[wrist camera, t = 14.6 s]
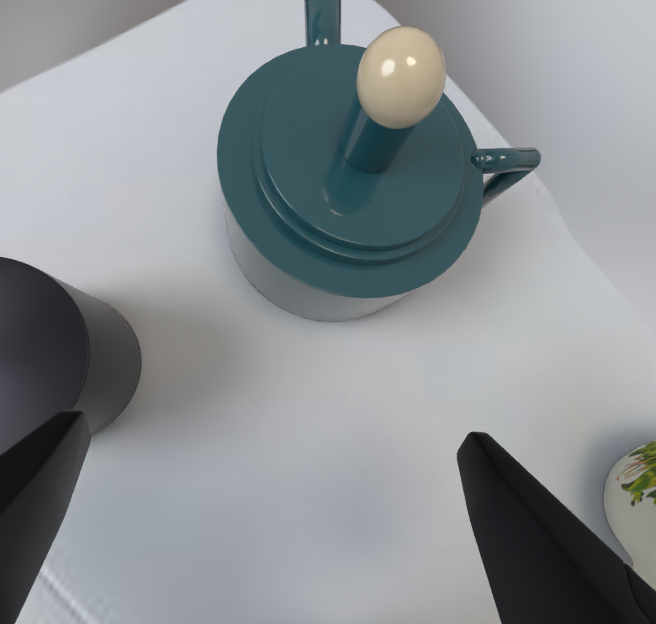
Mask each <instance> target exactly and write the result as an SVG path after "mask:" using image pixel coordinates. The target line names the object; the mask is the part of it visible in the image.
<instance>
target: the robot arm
mask: <svg viewBox="0 0 656 624" xmlns="http://www.w3.org/2000/svg"><path fill="white" fill-rule="evenodd" d="M90 440H91V433H90V429H89V425H88V421H87V417H86V413H85V412H84V411H83V410H74V409H63V410H61V411H59V412H57V413H56V414H55V415H53V416H52V417H51V418H49V419H48V420H47V421H45V422H44V423H43V424H41V425H40V426H39V427H37V428H36V429H35V430H33V431H32V432H31V433H29V434H28V435H27V436H25V437H24V438H23V439H21V440H20V441H19V442H17V443H16V444H15V445H13V446H12V447H11V448H9V449H8V450H7V451H5V452H4V453H3V454H1V455H0V624H15V622H16V620H17V618H18V616H19V614H20V611H21V609H22V607H23V605H24V603H25V601H26V599H27V596H28V594H29V592H30V590H31V588H32V586H33V584H34V582H35V579H36V577H37V575H38V573H39V571H40V569H41V567H42V564H43V562H44V560H45V558H46V556H47V554H48V552H49V549H50V547H51V545H52V543H53V541H54V539H55V537H56V535H57V532H58V530H59V528H60V526H61V524H62V521H63V519H64V517H65V514H66V511H67V509H68V506H69V503H70V500H71V497H72V494H73V491H74V488H75V486H76V483H77V480H78V477H79V474H80V471H81V468H82V465H83V462H84V459H85V456H86V453H87V451H88V448H89V445H90ZM457 462H458V467H459V471H460V476H461V481H462V486H463V491H464V496H465V500H466V505H467V510H468V514H469V518H470V522H471V526H472V529H473V532H474V536H475V539H476V542H477V545H478V549H479V552H480V555H481V558H482V561H483V565H484V568H485V571H486V574H487V578H488V581H489V584H490V587H491V591H492V594H493V597H494V600H495V603H496V607H497V610H498V613H499V616H500V620H501V623H502V624H656V591H655V590H654V589H653V588H652V587H651V586H650V585H649V584H647V583H646V582H645V581H644V580H643V579H642V578H641V577H640V576H639V575H638V574H637V573H636V572H635V571H634V570H632V569H631V568H630V567H629V566H628V565H627V564H625V563H623V560H622V559H621V558H620V557H618V556H617V555H616V554H615V553H614V552H613V551H612V550H611V549H610V548H609V547H608V546H607V545H606V544H605V543H604V542H603V541H601V540H600V539H599V538H598V537H597V536H596V535H595V534H594V533H593V532H592V531H591V530H590V529H589V528H588V527H587V526H586V525H584V524H583V523H582V522H581V521H580V520H579V519H578V518H577V517H576V516H575V515H574V514H573V513H572V512H571V511H570V510H568V509H567V508H566V507H565V506H564V505H563V504H562V503H561V502H560V501H559V500H558V499H557V498H556V497H555V496H554V495H553V494H551V493H550V492H549V491H548V490H547V489H546V488H545V487H544V486H543V485H542V484H541V483H540V482H539V481H538V480H537V479H536V478H534V477H533V476H532V475H531V474H530V473H529V472H528V471H527V470H526V469H525V468H524V467H523V466H522V465H521V464H520V463H519V462H517V461H516V460H515V459H514V458H513V457H512V456H511V455H510V454H509V453H508V452H507V451H506V450H505V449H504V448H503V447H501V446H500V445H499V444H498V443H497V442H496V441H495V440H494V439H493V438H492V437H491V436H490V435H488V434H487V433H484V432H470V433H469V434H468V435H467V437H466V438H465V440H464V441H463V443H462V445H461V446H460V448H459V449H458V452H457Z"/></svg>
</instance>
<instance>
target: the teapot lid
mask: <svg viewBox="0 0 656 624" xmlns="http://www.w3.org/2000/svg"><path fill="white" fill-rule="evenodd" d="M445 80H446V66H445V59H444V56H443V53H442V50H441V48H440V46H439V45H438V43H437V42H436V40H435V39H434V38H433V37H432V36H431V35H430V34H429V33H427V32H426V31H424V30H422V29H420V28H417V27H413V26H398V27H394V28H391V29H388V30H386V31H384V32H383V33H381V34H380V35H379V36H377V37H376V38H375V39H374V40H373V41H372V42H371V43H370V45H369V46H368V47H367V49H366V50H365V52H364V54H363V55H357V54H338V55H331V56H326V57H322V58H318V59H315V60H313V61H310V62H308V63H306V64H304V65H302V66H301V67H299V68H297V69H296V70H294V71H293V72H292V73H291V74H289V75H288V76H287V77H286V78H285V79H284V80H283V81H282V82H281V83H280V84H279V86H278V87H277V88H276V90H275V91H274V93H273V94H272V96H271V98H270V100H269V102H268V104H267V107H266V109H265V113H264V116H263V120H262V128H261V155H262V160H263V166H264V169H265V172H266V175H267V178H268V181H269V183H270V185H271V187H272V189H273V191H274V193H275V194H276V196H277V197H278V199H279V200H280V202H281V203H282V205H283V206H284V207H285V208H286V209H287V210H288V212H289V213H290V214H291V215H292V216H293V217H294V218H295V219H296V220H297V221H299V222H300V223H301V224H302V225H303V226H305V227H306V228H307V229H309V230H310V231H312V232H313V233H315V234H316V235H318V236H320V237H322V238H324V239H325V240H328V241H330V242H333V243H335V244H338V245H341V246H345V247H349V248H352V249H359V250H387V249H393V248H397V247H401V246H404V245H407V244H409V243H411V242H414V241H416V240H418V239H419V238H421V237H422V236H424V235H426V234H427V233H428V232H429V231H431V230H432V229H433V228H434V227H435V226H436V225H438V224H439V223H440V222H441V221H442V220H443V218H444V217H445V216H446V215H447V214H448V212H449V211H450V209H451V207H452V206H453V204H454V202H455V200H456V198H457V196H458V193H459V190H460V186H461V182H462V176H463V152H462V145H461V141H460V138H459V134H458V131H457V129H456V126H455V124H454V122H453V120H452V118H451V116H450V114H449V112H448V111H447V109H446V108H445V106H444V105H443V103H442V102H441V101H440V98H441V96H442V93H443V90H444V86H445Z"/></svg>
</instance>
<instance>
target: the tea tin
mask: <svg viewBox="0 0 656 624" xmlns="http://www.w3.org/2000/svg"><path fill="white" fill-rule="evenodd" d="M140 372H141V352H140V347H139V343H138V340H137V337H136V335H135V333H134V331H133V329H132V328H131V326H130V325H129V323H128V322H127V321H126V320H125V319H124V318H123V316H122V315H120V314H119V313H118V312H117V311H116V310H115V309H113V308H111V307H110V306H108V305H107V304H105V303H103V302H101V301H99V300H97V299H95V298H93V297H91V296H89V295H87V294H85V293H83V292H82V291H80V290H78V289H76V288H74V287H72V286H70V285H68V284H66V283H64V282H62V281H60V280H58V279H56V278H54V277H52V276H50V275H48V274H47V273H45V272H43V271H41V270H39V269H37V268H34V267H32V266H30V265H28V264H25V263H22V262H19V261H16V260H13V259H9V258H4V257H0V455H1V454H3V453H4V452H5V451H7V450H8V449H9V448H11V447H12V446H13V445H15V444H16V443H17V442H19V441H20V440H21V439H23V438H24V437H25V436H27V435H28V434H29V433H31V432H32V431H33V430H35V429H36V428H37V427H39V426H40V425H41V424H43V423H44V422H45V421H47V420H48V419H49V418H51V417H52V416H53V415H55V414H56V413H57V412H59V411H61V410H63V409H74V410H83V411H84V412H85V413H86V417H87V421H88V425H89V429H90V433H91V435H92V434H95V433H97V432H98V431H100V430H101V429H103V428H104V427H106V426H107V425H108V424H110V423H111V422H112V421H113V420H114V419H115V418H116V417H117V416H118V415H119V414H120V413H121V412H122V411H123V410H124V408H125V407H126V406H127V404H128V403H129V401H130V399H131V398H132V396H133V394H134V392H135V390H136V387H137V385H138V381H139V377H140Z"/></svg>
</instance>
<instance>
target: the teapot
mask: <svg viewBox="0 0 656 624" xmlns="http://www.w3.org/2000/svg"><path fill="white" fill-rule="evenodd" d="M304 8H305V40H306V47H303V48H299V49H296V50H292V51H289V52H287V53H284V54H282V55H280V56H278V57H275V58H274V59H272V60H270V61H269V62H267V63H266V64H264V65H262V66H261V67H260V68H259V69H257V70H256V71H255V72H254V73H253V74H251V75H250V76H249V77H248V78H247V79H246V81H245V82H244V83H243V84H242V85H241V86H240V87H239V89H238V90H237V92H236V93H235V95H234V96H233V98H232V100H231V101H230V103H229V105H228V107H227V110H226V112H225V114H224V117H223V120H222V123H221V127H220V131H219V136H218V145H217V166H218V174H219V181H220V187H221V193H222V199H223V205H224V211H225V217H226V223H227V229H228V235H229V240H230V245H231V248H232V251H233V254H234V256H235V259H236V261H237V263H238V265H239V267H240V269H241V270H242V272H243V273H244V275H245V276H246V278H247V279H248V280H249V282H250V283H251V284H252V285H253V286H254V287H255V288H256V289H257V291H258V292H260V293H261V294H262V295H263V296H264V297H265V298H267V299H268V300H269V301H271V302H272V303H274V304H275V305H277V306H278V307H280V308H281V309H284V310H286V311H288V312H290V313H292V314H294V315H297V316H300V317H303V318H306V319H311V320H316V321H325V322H341V321H349V320H354V319H359V318H361V317H364V316H367V315H370V314H372V313H374V312H376V311H378V310H380V309H382V308H384V307H385V306H387V305H389V304H391V303H393V302H395V301H396V300H398V299H400V298H402V297H404V296H405V295H407V294H409V293H411V292H413V291H415V290H416V289H418V288H420V287H422V286H424V285H426V284H427V283H429V282H431V281H433V280H434V279H435V278H437V277H438V276H440V275H441V274H442V273H444V272H445V271H446V270H447V269H448V268H449V267H450V266H451V265H452V264H453V263H454V262H455V261H456V260H457V259H458V258H459V256H460V255H461V254H462V253H463V251H464V250H465V249H466V247H467V245H468V243H469V242H470V240H471V238H472V236H473V234H474V231H475V229H476V226H477V224H478V221H479V217H480V212H481V209H482V208H483V207H484V206H486V205H487V204H488V203H490V202H491V201H492V200H494V199H495V198H496V197H498V196H499V195H500V194H502V193H503V192H505V191H506V190H507V189H509V188H510V187H511V186H513V185H514V184H515V183H517V182H518V181H519V180H521V179H522V178H523V177H525V176H526V175H527V174H529V173H530V172H531V171H533V170H534V169H535V168H536V167H537V166H538V165H539V164H540V161H541V154H540V152H539V151H538V150H537V149H535V148H496V149H477V147H476V144H475V141H474V139H473V137H472V134H471V132H470V130H469V128H468V126H467V124H466V122H465V121H464V119H463V117H462V115H461V114H460V113H459V111H458V110H457V108H456V107H455V106H454V104H453V103H452V102H451V101H450V99H449V98H448V97H447V96H446V95H445V94H444V93H442V96H441V98H440V101H441V102H442V103H443V105H444V106H445V108H446V109H447V111H448V112H449V114H450V116H451V118H452V120H453V122H454V124H455V126H456V129H457V131H458V134H459V138H460V141H461V145H462V152H463V176H462V182H461V186H460V190H459V193H458V196H457V198H456V200H455V202H454V204H453V206H452V207H451V209H450V211H449V212H448V214H447V215H446V216H445V217H444V218H443V220H442V221H441V222H440V223H439V224H438V225H436V226H435V227H434V228H433V229H432V230H431V231H429V232H428V233H427V234H426V235H424V236H422V237H421V238H419V239H418V240H416V241H414V242H411V243H409V244H407V245H404V246H401V247H397V248H393V249H387V250H359V249H352V248H349V247H345V246H341V245H338V244H335V243H333V242H330V241H328V240H325V239H324V238H322V237H320V236H318V235H316V234H315V233H313V232H312V231H310V230H309V229H307V228H306V227H305V226H303V225H302V224H301V223H300V222H299V221H297V220H296V219H295V218H294V217H293V216H292V215H291V214H290V213H289V212H288V210H287V209H286V208H285V207H284V206H283V205H282V203H281V202H280V200H279V199H278V197H277V196H276V194H275V193H274V191H273V189H272V187H271V185H270V183H269V181H268V178H267V175H266V172H265V169H264V166H263V160H262V155H261V128H262V120H263V116H264V113H265V109H266V107H267V104H268V102H269V100H270V98H271V96H272V94H273V93H274V91H275V90H276V88H277V87H278V86H279V84H280V83H281V82H282V81H283V80H284V79H285V78H286V77H287V76H288V75H289V74H291V73H292V72H293V71H294V70H296V69H297V68H299V67H301V66H302V65H304V64H306V63H308V62H310V61H313V60H315V59H318V58H322V57H326V56H331V55H338V54H357V55H363V54H364V52H365V50H366V49H367V48H364V47H359V46H355V45H344V44H341V0H304ZM489 173H495V174H494V175H492V176H491V177H490V178H489V179H488V180H486V181H485V182H484V183H483V174H489Z"/></svg>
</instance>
